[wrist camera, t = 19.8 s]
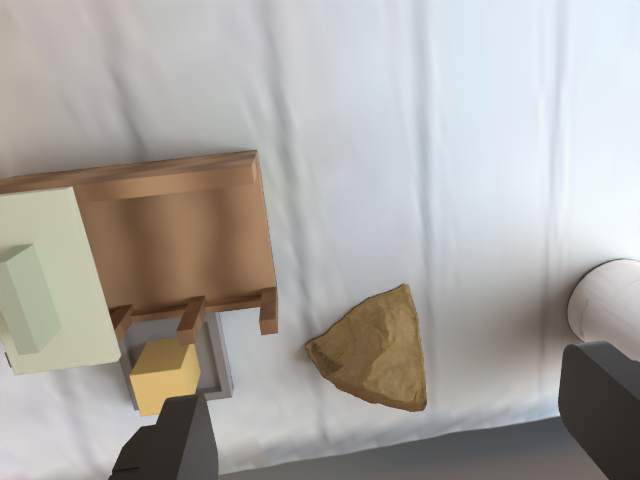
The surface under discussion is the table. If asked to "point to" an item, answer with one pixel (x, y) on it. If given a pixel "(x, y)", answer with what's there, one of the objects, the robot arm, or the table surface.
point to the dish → (208, 350)
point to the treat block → (164, 374)
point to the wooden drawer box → (174, 238)
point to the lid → (50, 286)
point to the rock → (376, 352)
